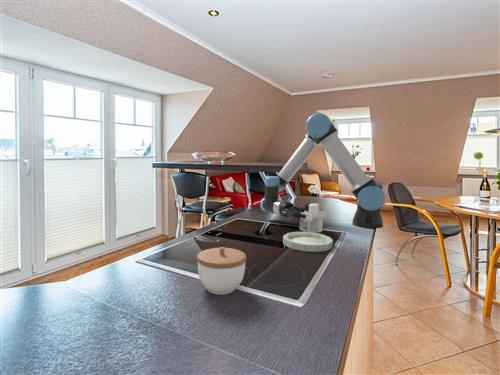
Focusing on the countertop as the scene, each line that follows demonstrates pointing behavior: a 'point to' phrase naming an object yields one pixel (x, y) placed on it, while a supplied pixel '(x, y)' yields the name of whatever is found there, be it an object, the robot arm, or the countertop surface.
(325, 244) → the round tray
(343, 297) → the countertop surface
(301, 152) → the robot arm
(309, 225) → the container
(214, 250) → the lidded bowl
